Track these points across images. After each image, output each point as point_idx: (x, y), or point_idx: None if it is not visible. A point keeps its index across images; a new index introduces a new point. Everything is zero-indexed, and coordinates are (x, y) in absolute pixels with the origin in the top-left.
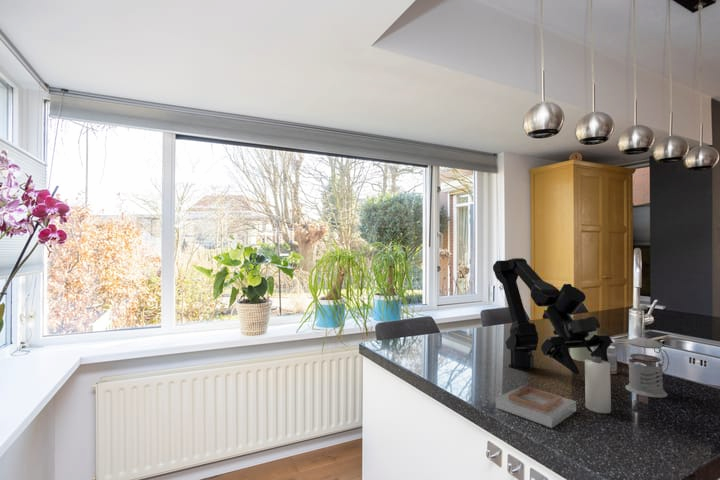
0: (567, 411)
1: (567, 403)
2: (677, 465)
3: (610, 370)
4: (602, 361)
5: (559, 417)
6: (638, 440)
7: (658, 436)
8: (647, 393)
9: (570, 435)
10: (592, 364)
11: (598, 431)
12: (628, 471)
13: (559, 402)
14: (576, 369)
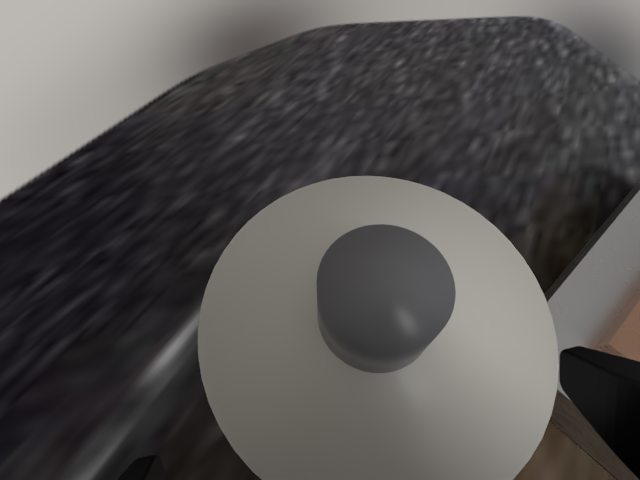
0: (564, 274)
1: (570, 309)
2: (323, 44)
3: (134, 463)
4: (268, 348)
5: (611, 218)
6: (342, 135)
7: (249, 160)
8: None
9: (567, 149)
10: (483, 224)
11: (453, 179)
12: (461, 23)
13: (618, 314)
14: (619, 358)
